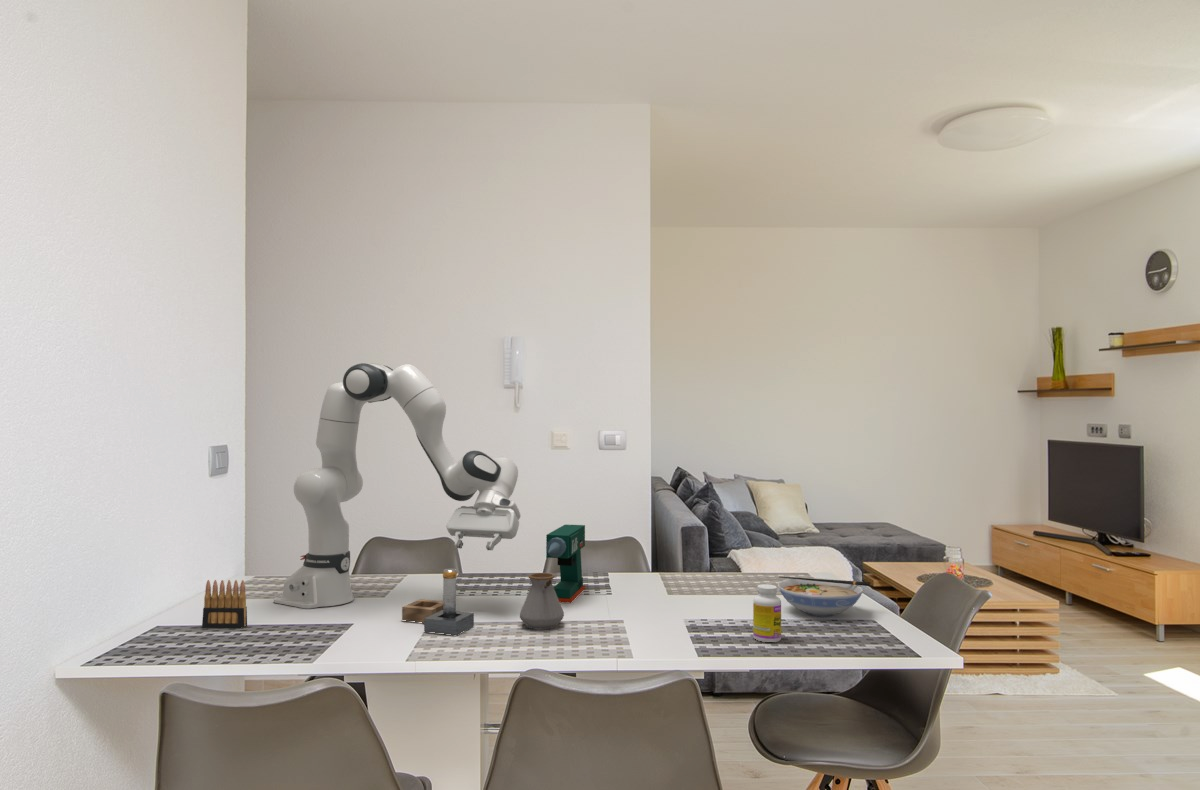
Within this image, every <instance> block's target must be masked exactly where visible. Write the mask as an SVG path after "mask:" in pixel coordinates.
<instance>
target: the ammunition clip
mask: <svg viewBox="0 0 1200 790" xmlns="http://www.w3.org/2000/svg"><path fill="white" fill-rule="evenodd" d="M220 581H221V582H220V583H219V588H218V582H217V580H216V579H214V581H213V584H211V581H210V579H208V580H207V581H206V583H205V591H204V592H205V593H204V601H203V602H204V603H203V604H204V605H203V609H202V622H201V629H242V628H241V627H245V626H246V627H248V609H247V608H248V607H247V596H246V583H245V580H244V579H242V580H241V581H240V587H239V583H238V580H237V579H235V580H234V583H233V587H232V582H231V580H230V579H228V581H227V584H226V587H225V581H224V580H223V579H221V580H220ZM211 585H212V588H211ZM232 589H233V591H232ZM225 590H226V591H225ZM246 627H245V628H246Z"/></svg>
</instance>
